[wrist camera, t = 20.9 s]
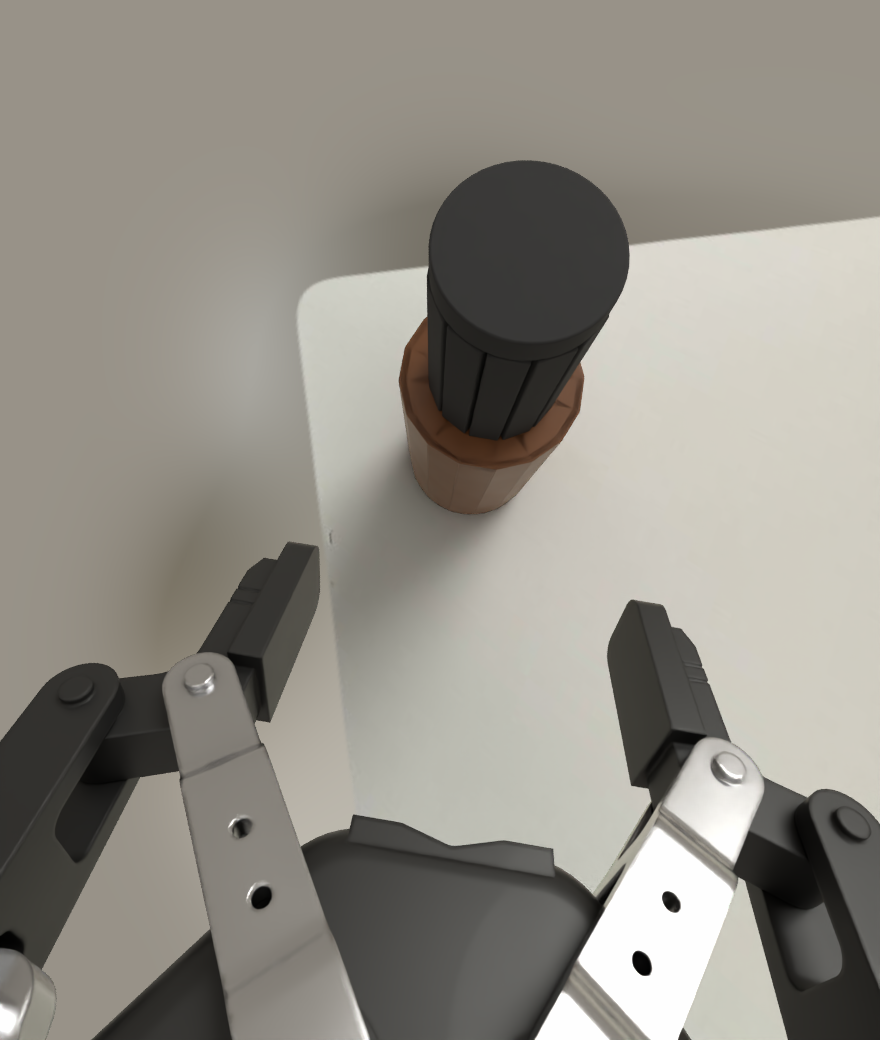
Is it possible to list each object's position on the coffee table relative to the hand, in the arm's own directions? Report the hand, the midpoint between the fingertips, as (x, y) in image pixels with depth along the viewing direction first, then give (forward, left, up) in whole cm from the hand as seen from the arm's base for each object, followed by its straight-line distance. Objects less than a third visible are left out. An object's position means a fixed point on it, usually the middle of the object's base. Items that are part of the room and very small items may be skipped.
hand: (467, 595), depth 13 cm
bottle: (+9, 0, -19) cm, 21 cm away
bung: (+9, 0, -7) cm, 11 cm away
